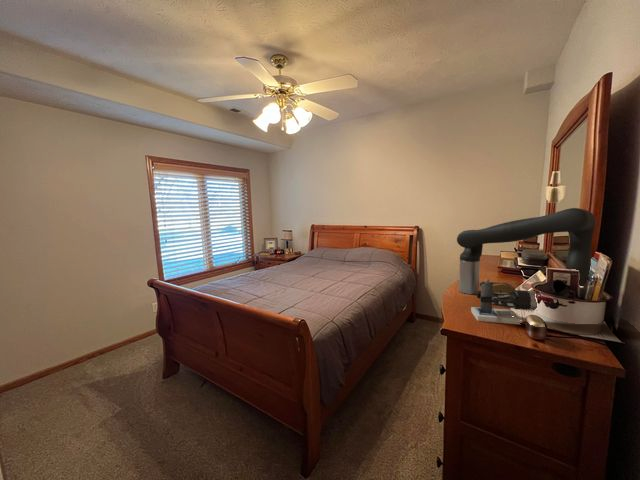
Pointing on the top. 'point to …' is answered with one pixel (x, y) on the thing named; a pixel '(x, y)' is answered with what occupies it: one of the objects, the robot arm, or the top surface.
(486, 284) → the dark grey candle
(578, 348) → the top surface
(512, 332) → the top surface
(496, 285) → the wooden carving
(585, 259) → the robot arm
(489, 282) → the carrying case or bag
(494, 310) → the duct plate
